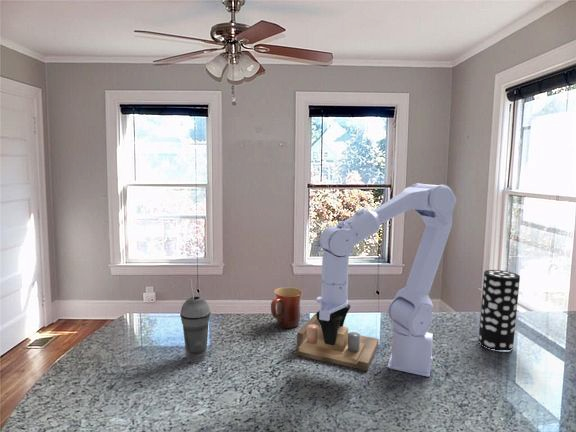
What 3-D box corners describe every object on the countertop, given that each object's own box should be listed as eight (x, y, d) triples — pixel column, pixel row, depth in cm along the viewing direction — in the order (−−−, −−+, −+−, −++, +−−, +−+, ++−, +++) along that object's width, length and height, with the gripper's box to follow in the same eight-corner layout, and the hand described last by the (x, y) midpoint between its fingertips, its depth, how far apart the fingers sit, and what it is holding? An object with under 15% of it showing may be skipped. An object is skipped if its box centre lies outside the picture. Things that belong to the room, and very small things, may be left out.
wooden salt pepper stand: (364, 347, 87) (365, 327, 87) (356, 364, 80) (357, 341, 79) (311, 336, 92) (311, 317, 92) (298, 351, 85) (299, 329, 84)
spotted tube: (504, 339, 108) (510, 270, 105) (519, 353, 99) (526, 279, 97) (473, 337, 108) (479, 269, 106) (485, 351, 100) (492, 277, 98)
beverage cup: (203, 367, 90) (202, 285, 88) (175, 363, 92) (173, 283, 89) (215, 352, 97) (215, 276, 95) (189, 349, 99) (187, 274, 96)
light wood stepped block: (378, 345, 102) (379, 324, 102) (367, 371, 90) (368, 346, 89) (315, 333, 109) (315, 313, 109) (296, 355, 97) (297, 332, 96)
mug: (285, 316, 122) (285, 285, 120) (308, 323, 116) (308, 291, 115) (260, 328, 112) (260, 295, 111) (283, 337, 107) (284, 301, 106)
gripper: (327, 270, 92) (325, 324, 94) (306, 287, 79) (304, 349, 81) (356, 274, 89) (353, 329, 91) (339, 292, 76) (337, 356, 78)
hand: (332, 339), depth 86 cm, fingers closed on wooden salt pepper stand, 4 cm apart
